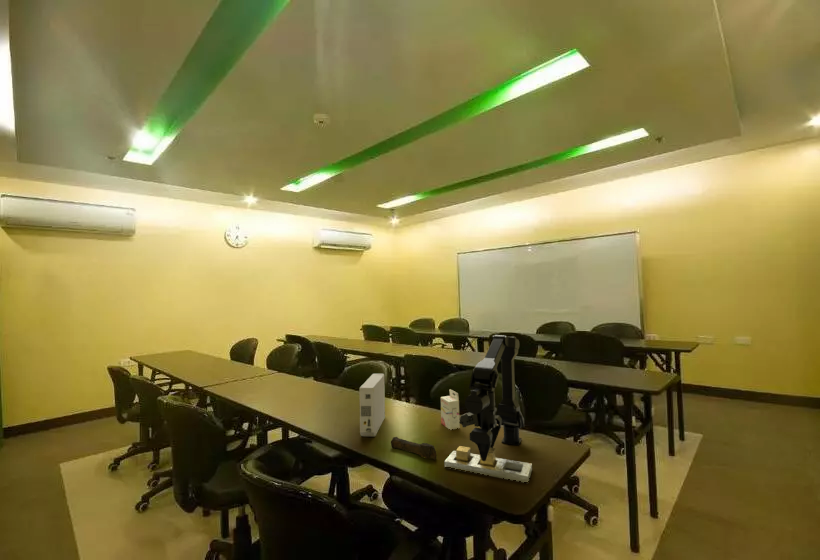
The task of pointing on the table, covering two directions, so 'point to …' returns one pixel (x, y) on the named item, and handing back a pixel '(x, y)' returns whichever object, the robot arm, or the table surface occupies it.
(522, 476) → the white slotted tray
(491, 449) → the block
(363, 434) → the game console
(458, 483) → the table surface
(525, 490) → the table surface
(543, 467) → the table surface
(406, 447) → the dark brown elongated piece
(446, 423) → the ink cartridge box
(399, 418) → the table surface
